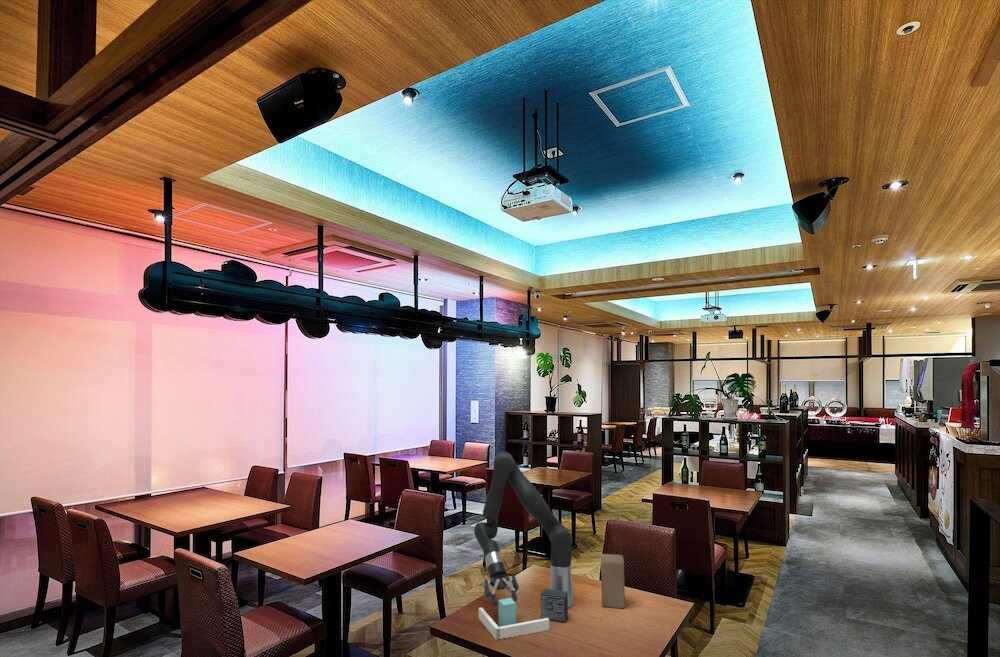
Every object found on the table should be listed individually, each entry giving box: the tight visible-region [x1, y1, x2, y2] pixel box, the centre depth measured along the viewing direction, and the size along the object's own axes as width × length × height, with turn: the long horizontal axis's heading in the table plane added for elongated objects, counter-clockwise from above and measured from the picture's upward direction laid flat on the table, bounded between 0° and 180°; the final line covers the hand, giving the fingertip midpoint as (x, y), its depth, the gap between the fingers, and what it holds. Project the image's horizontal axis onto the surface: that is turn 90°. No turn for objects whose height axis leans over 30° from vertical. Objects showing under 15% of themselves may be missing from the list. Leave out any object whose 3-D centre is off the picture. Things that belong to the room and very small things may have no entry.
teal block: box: [497, 597, 517, 627], centre depth 215 cm, size 6×6×10 cm
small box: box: [540, 588, 569, 624], centre depth 224 cm, size 11×6×10 cm, turn 71°
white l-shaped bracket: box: [478, 607, 550, 641], centre depth 218 cm, size 23×21×4 cm
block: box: [600, 553, 626, 609], centre depth 238 cm, size 10×10×20 cm
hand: (505, 603), depth 217 cm, fingers open, 8 cm apart
